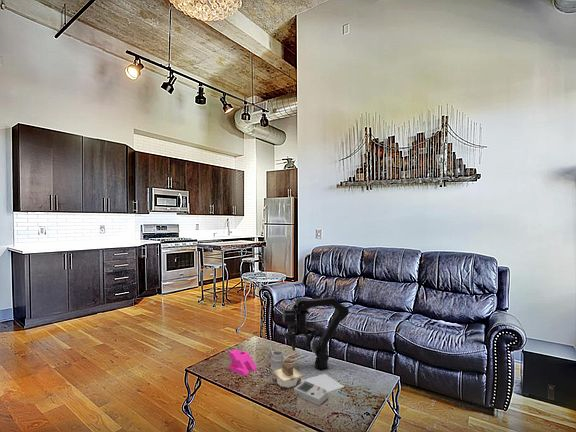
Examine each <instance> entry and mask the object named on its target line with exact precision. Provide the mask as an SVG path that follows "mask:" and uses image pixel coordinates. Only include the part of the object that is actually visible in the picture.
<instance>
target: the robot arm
mask: <svg viewBox="0 0 576 432" xmlns="http://www.w3.org/2000/svg"><path fill="white" fill-rule="evenodd" d="M325 306H332V307H333V308H334V311H333V316H332V318H331V320H330V321H329V323H328V325H327V326H326V329H325V330H324V331H323V333H322V335H321V337H320V338H319V339H317V338H316V339H315V340H314V338H315V337H316V336H317V335H318V333H317V332H318V331H317V330H316V329H315V328H313V327H308V328H307V326H308V323H307V315H308V314H311V313H310V311H309V309H311V308H316V307H317V308H318V307H325ZM349 313H350V310H349V308H348V307H347V306H346V305H344V304H342V303H340V302H339V301H338V300H337V299H336V298H334V297H333V296H327V297H320V298H312V299H311V298H309V299H308V298H304V297H299V298H297V299H296V300H295V303H294V305H293V306H292V307H291V309H283V312H282V322H283V323H284V324H285V323H288V324H287V329H288V332H285V333H284V335H283V336H284V339H286V340H288V341H289V343H290V346H291V349H292V351H293V352H296V351H295V350H296V343H297V339H296V338H297V337H301V336H305V337H306V338H305V339H306V340H305V341H306V342H305V345H306V349H308V348H309V346H310V344H311V343H312V341H313V340H314V342H313V343H312V344H311V349H312V350H311V351H312V352H313V354H314V355H315V356H316V357H315V360H314V363H315V364H314V368H315V369H317V370H318V371H320V372H323V371H325V370H329V369H330V367H328V363H329V362H328V361H329V359H330V356H329V355H328V353H326V352H327V349H328V343H329V342H330V340H331V339H332V336H333V334H335V331H336V329H337V328H338V326H339V324H340V323H341V322H342V321H344V319H345V318H346V317H348V315H349ZM292 323H294V324H292ZM289 330H290V331H289Z"/></svg>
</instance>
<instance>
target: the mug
mask: <svg viewBox="0 0 576 432" xmlns="http://www.w3.org/2000/svg"><path fill="white" fill-rule="evenodd" d="M284 360H285V358H284V352H283V351H281V350H273V347H272V345H270V346H269V349H268V352H267V361H266V362H267V363H268V365H269V366H270V371H271V372H272V371H274V370H278V369H282V364H284Z"/></svg>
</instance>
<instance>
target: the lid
mask: <svg viewBox="0 0 576 432" xmlns="http://www.w3.org/2000/svg"><path fill="white" fill-rule="evenodd" d="M271 373H272V374H273V375H274V376H276V378H277V377H278V378H279V379H280V380H281V381H282V382H287V381H291V380H294V379H300V378H304V374H303V373H301V372H300V371H299V370H297V369H296V368H295V367H294V366H293V365H291V364H290V363H289V362H283V364H282V369H278V370H274V371H271Z"/></svg>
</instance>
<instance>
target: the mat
mask: <svg viewBox="0 0 576 432" xmlns="http://www.w3.org/2000/svg"><path fill="white" fill-rule="evenodd" d="M304 380H305V381H307V382H310V383H312V384H315V385H317V386H319V387H321V388H323V389H325V390H326V391H327V392H328V393H329V392H333V391H335V390H339V389H341V388H344V387H345V386H344V385H343V384H341V383H340V382H338V381H336V380H335V379H334V378H332V377H330V376H329V375H327V374H326V373H322V374H319V375H315V376H312V377H311V376H310V377H309V378H304V379H301V380H300V382H301V383H302V382H303V381H304Z"/></svg>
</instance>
